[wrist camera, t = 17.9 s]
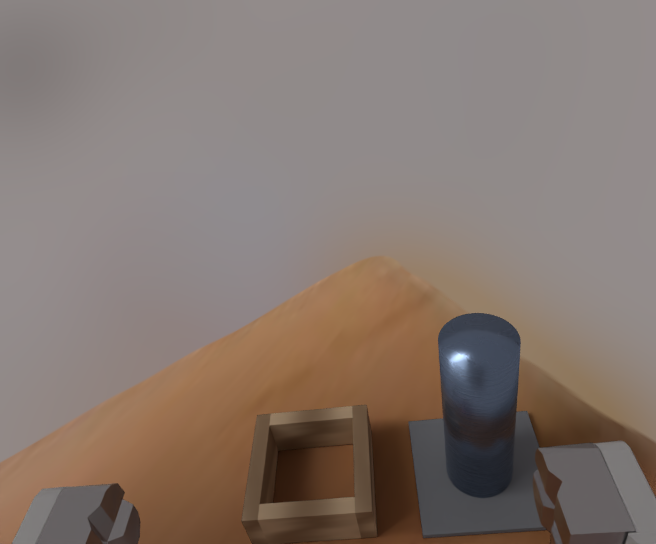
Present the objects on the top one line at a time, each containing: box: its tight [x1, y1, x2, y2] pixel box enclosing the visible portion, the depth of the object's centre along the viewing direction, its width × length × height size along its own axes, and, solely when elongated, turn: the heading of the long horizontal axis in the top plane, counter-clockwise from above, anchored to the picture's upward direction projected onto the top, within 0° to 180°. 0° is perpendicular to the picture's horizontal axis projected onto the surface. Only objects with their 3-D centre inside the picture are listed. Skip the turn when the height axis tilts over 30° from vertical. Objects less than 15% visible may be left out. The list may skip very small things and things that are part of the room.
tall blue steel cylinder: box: [438, 313, 521, 498], centre depth 38 cm, size 5×5×14 cm
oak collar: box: [241, 405, 377, 544], centre depth 43 cm, size 9×9×4 cm
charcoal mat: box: [409, 411, 547, 538], centre depth 43 cm, size 10×10×1 cm
